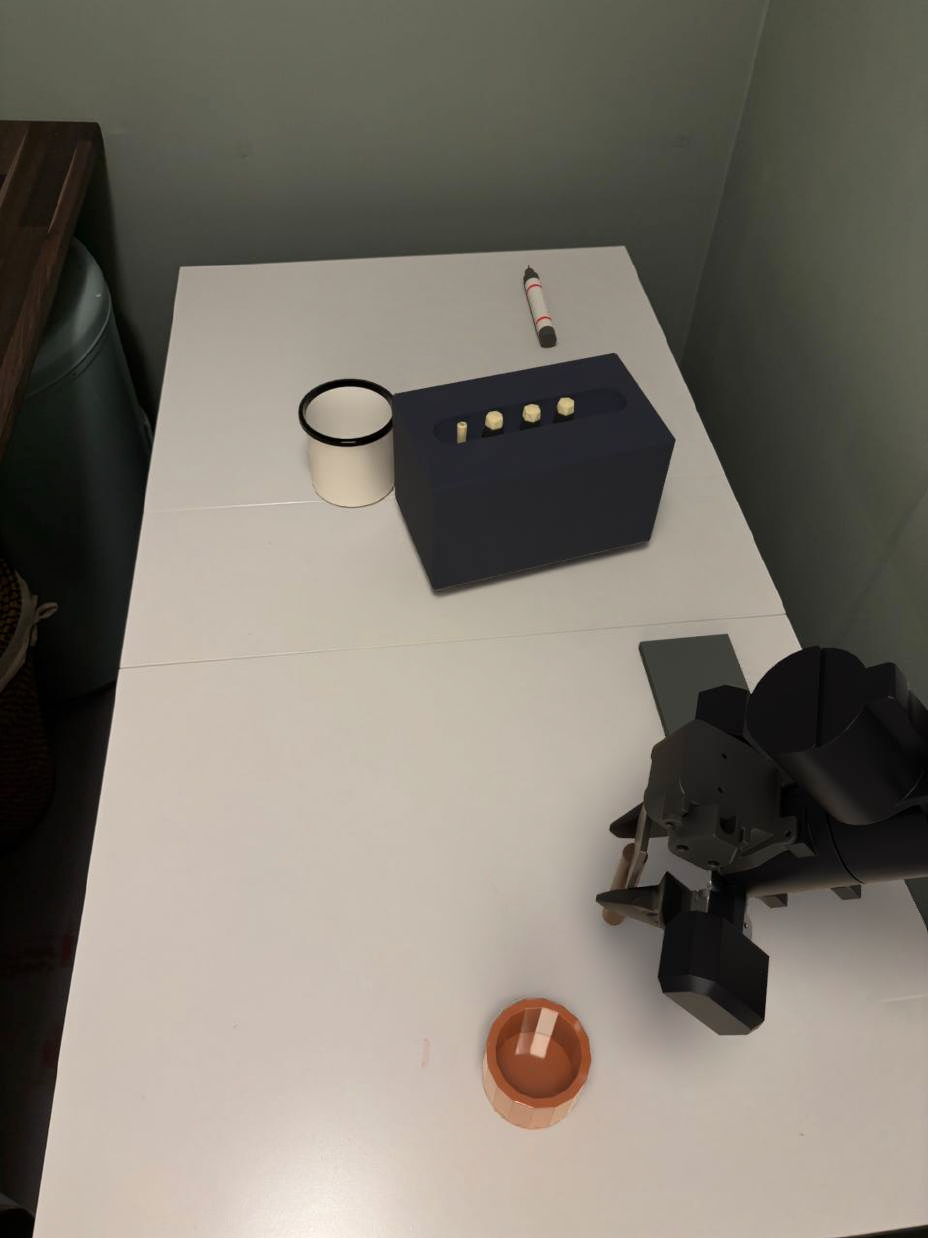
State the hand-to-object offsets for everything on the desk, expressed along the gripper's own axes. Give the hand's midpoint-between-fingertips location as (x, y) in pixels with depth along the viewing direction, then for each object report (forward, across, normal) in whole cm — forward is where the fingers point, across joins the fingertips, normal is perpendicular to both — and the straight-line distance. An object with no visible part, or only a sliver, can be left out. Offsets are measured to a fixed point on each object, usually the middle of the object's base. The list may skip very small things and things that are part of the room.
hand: (606, 865), depth 60 cm
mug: (+31, -42, -12) cm, 53 cm away
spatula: (+4, 0, +6) cm, 7 cm away
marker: (+24, -76, -4) cm, 79 cm away
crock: (+11, +9, +8) cm, 16 cm away
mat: (+6, -24, +14) cm, 28 cm away
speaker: (+19, -39, 0) cm, 43 cm away
